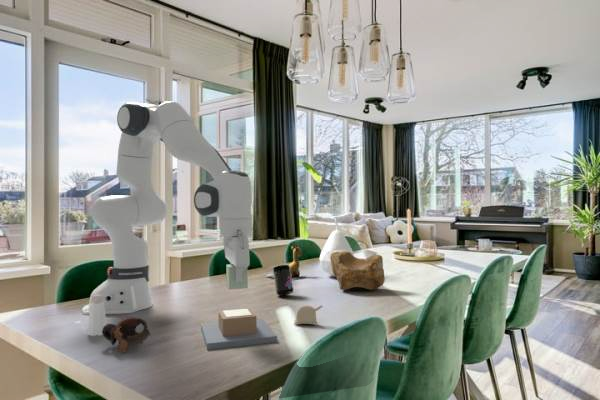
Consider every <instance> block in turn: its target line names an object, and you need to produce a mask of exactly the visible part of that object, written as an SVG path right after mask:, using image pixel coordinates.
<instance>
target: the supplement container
mask: <svg viewBox="0 0 600 400" xmlns="http://www.w3.org/2000/svg"><path fill="white" fill-rule="evenodd" d="M289 265H290V264H283V265H282V264H281V265H278V266H274V267H272V273H273V274H274V278H273V280H274V285H275V292H276V295H277V296H280V297H281V296H288V295H291V294H293V293H294V287H293V285H294V284H293V280H292V278H291V272H290V266H289Z"/></svg>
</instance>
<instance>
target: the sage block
mask: <svg viewBox="0 0 600 400" xmlns="http://www.w3.org/2000/svg"><path fill="white" fill-rule="evenodd" d="M225 267H226V270H225V271H226V273H225V274H226V288H227V289H228V290H240V289H243V290H244V289H248V281H249V280H248V267H244V270H243V280H242V282H236V280H235V266H234V265H233V264H230V263H229V264H228V263H227V264H226V266H225Z"/></svg>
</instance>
